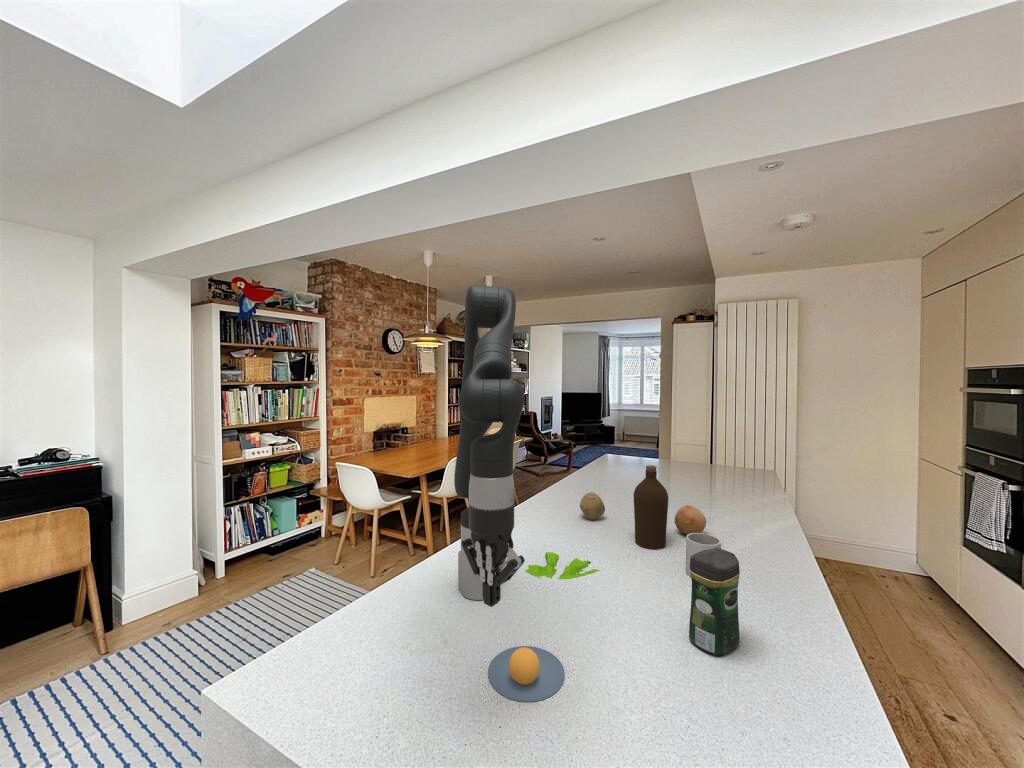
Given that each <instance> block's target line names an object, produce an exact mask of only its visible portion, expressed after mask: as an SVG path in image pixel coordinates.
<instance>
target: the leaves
mask: <svg viewBox="0 0 1024 768" xmlns="http://www.w3.org/2000/svg"><path fill="white" fill-rule="evenodd" d="M559 555H560V554H557V553H554V552H551V551H549V552H548V551H545V555H544V556H545V558H546V561H547V565H544V566H540V565H538V564H529V565H528V566H527V568H528V569H527V568H526V569H525V570H524V572H525V573H528V574H529V575H530V576H533V577H536V578H537V579H540V580H542V578H541V577H545V578H549V579H553V577H554V576H555V575H556V574H557V570H558V569H557V568H556V566H557V564H558V561H559V560H560V557H559ZM591 563H592V562H591V561H590V560H580V559H579V558H578V557H575V558H574V559H573V560H572V561H571V562H570V563H569V564H568V565H566V566H565V568H564V571H563V572H562V573H561V574H560V575H559V577H558V578H557V580H573V579H577V578H580V577H584V576H587V575H591V574H594V573H595V574H596V573H597V572H600V571H601V569H595V568H593V569H590V570H588V571H587V570H584V569H587V568H588V567H589V564H591ZM581 572H582V573H581Z"/></svg>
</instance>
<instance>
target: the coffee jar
mask: <svg viewBox="0 0 1024 768" xmlns="http://www.w3.org/2000/svg"><path fill="white" fill-rule="evenodd" d="M689 570H690V575H691V578H690V579H691V595H690V598H691V599H690V613H689V622H688V623H689V624H688V625H689V626H688V627H689V628H688V629H689V630H688V638H689V639H690V641H691V642H692V644H693V645H695V646H696V647H698V649H699V650H701V651H703V652H706V653H708V654H711V655H712V654H713V655H716V656H722V655H726V654H728V653H730V652H732V651H733V650H734V649H735V648H737V646H738V645H739V643H740V623H739V622H740V621H739V600H738V599H739V589H738V588H739V582H740V581H739V580H740V573H741V572H740V563H739V560H738V558H737V556H736V555H735V554H734V553H733V552H731V551H728V550H725V549H723V548H721V549H720V548H718V547H715V548H712V549H707V550H704V551H701V552H698V553H696V554H694V555H692V556H691V557H690V569H689Z"/></svg>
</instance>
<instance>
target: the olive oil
mask: <svg viewBox="0 0 1024 768" xmlns="http://www.w3.org/2000/svg"><path fill="white" fill-rule="evenodd" d="M657 473H658V472H657V466H655V465H645V477H644V478H643V479H642V480H641V481H640V483H638V484H637V485H636V487H635V489H634V491H633V508H634V509H633V513H634V514H633V517H634V542H635V544H636V545H637V546H639V547H641V548H643V549H647V550H662V549H664V548H665V547H666V546H667V524H668V512H669V511H668V509H669V494H668V491H667V488H666V487H665V486H664V485H663V484H662V483H661V482H660V481H659V479H658V478H657Z"/></svg>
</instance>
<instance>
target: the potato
mask: <svg viewBox="0 0 1024 768" xmlns="http://www.w3.org/2000/svg"><path fill="white" fill-rule="evenodd" d="M579 508H580V510H581V512H582V513H583V515H584V516H585V517H586V518H587V519H589V520H591V521H592V520H594V521H595V520H596V519H597V518H599V517H601V516H603V515H604V514H605V512H606V507H605V504H604V501H603V500H602V498H601V497H600V496H599V495H598V494H597V493H595V492H587V493H585V494H584V495H583V496H582V498H581V500H580V503H579Z"/></svg>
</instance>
